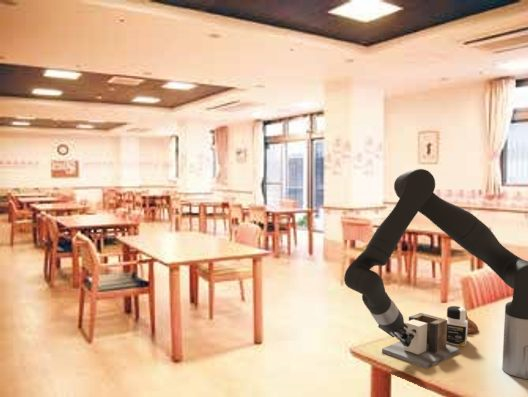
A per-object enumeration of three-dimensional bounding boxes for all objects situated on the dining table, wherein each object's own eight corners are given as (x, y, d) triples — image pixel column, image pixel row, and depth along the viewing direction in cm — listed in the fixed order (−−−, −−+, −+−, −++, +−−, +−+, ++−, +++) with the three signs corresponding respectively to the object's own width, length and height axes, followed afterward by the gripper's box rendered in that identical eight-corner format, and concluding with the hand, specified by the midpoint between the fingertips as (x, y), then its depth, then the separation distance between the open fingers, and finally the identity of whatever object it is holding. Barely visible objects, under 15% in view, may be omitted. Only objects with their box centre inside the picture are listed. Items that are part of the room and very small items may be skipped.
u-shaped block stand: (426, 368, 142) (428, 334, 141) (382, 352, 154) (383, 320, 153) (459, 352, 155) (460, 320, 154) (415, 338, 167) (416, 309, 166)
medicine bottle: (442, 342, 163) (444, 308, 162) (445, 336, 169) (446, 303, 168) (465, 346, 159) (466, 311, 159) (467, 340, 166) (468, 306, 165)
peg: (417, 354, 148) (418, 326, 148) (403, 349, 152) (404, 322, 151) (426, 350, 151) (427, 323, 151) (412, 346, 155) (413, 319, 155)
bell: (449, 321, 186) (450, 303, 185) (481, 328, 178) (482, 310, 178) (439, 329, 177) (439, 310, 176) (472, 337, 169) (473, 317, 169)
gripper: (411, 307, 136) (431, 339, 145) (372, 298, 146) (394, 328, 155) (400, 330, 133) (421, 360, 142) (361, 318, 143) (384, 347, 152)
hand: (407, 343), depth 148 cm, fingers closed
